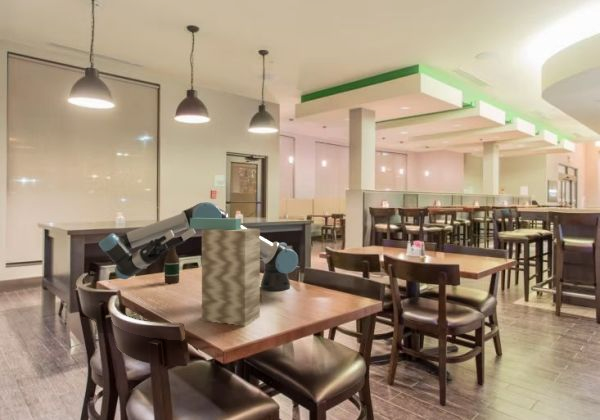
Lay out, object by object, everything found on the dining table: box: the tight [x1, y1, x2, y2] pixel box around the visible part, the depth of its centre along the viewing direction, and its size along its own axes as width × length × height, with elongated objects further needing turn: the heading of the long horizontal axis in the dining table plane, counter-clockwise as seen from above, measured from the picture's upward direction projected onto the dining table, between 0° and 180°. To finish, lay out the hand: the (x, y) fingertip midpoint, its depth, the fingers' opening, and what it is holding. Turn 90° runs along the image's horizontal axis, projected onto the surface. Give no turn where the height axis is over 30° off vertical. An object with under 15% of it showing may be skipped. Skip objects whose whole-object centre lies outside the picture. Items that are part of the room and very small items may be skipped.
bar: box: [190, 217, 242, 230], centre depth 148 cm, size 20×4×4 cm, turn 70°
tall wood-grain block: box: [201, 228, 261, 327], centre depth 146 cm, size 18×12×34 cm, turn 70°
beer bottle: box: [164, 237, 180, 285], centre depth 209 cm, size 8×8×24 cm
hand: (183, 231), depth 153 cm, fingers open, 13 cm apart
